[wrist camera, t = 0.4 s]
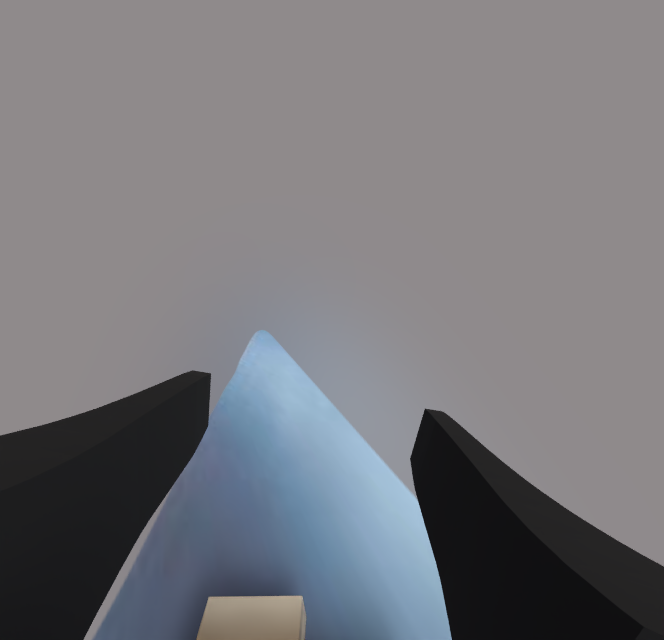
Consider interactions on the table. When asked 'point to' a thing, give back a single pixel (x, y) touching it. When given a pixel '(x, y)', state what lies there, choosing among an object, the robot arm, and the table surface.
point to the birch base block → (253, 618)
